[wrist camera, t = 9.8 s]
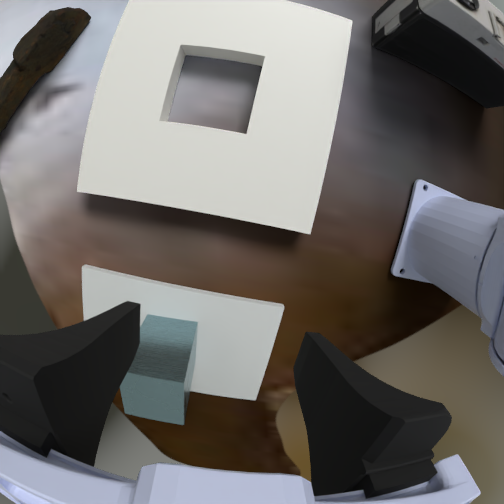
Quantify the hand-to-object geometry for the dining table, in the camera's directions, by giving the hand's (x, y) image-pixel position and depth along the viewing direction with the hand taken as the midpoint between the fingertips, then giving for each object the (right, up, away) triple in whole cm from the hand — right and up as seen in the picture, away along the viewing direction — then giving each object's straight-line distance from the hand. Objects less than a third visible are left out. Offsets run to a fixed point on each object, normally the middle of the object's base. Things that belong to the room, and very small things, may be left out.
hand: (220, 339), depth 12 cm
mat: (-5, -4, +10) cm, 12 cm away
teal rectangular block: (-5, -3, +10) cm, 11 cm away
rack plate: (-1, +14, +5) cm, 15 cm away
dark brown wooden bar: (-20, +18, +4) cm, 27 cm away
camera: (+18, +22, +4) cm, 29 cm away
